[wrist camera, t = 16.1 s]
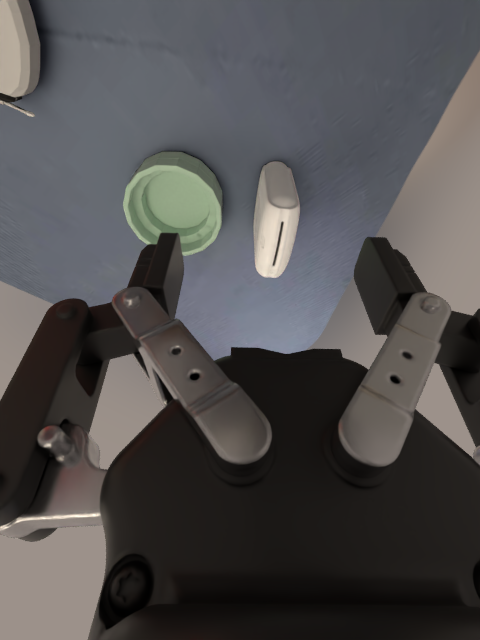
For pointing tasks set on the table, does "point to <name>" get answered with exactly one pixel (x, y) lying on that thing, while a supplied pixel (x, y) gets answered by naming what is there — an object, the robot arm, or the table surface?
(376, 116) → the table surface
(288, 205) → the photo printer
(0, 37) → the robot toy
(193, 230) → the bowl
